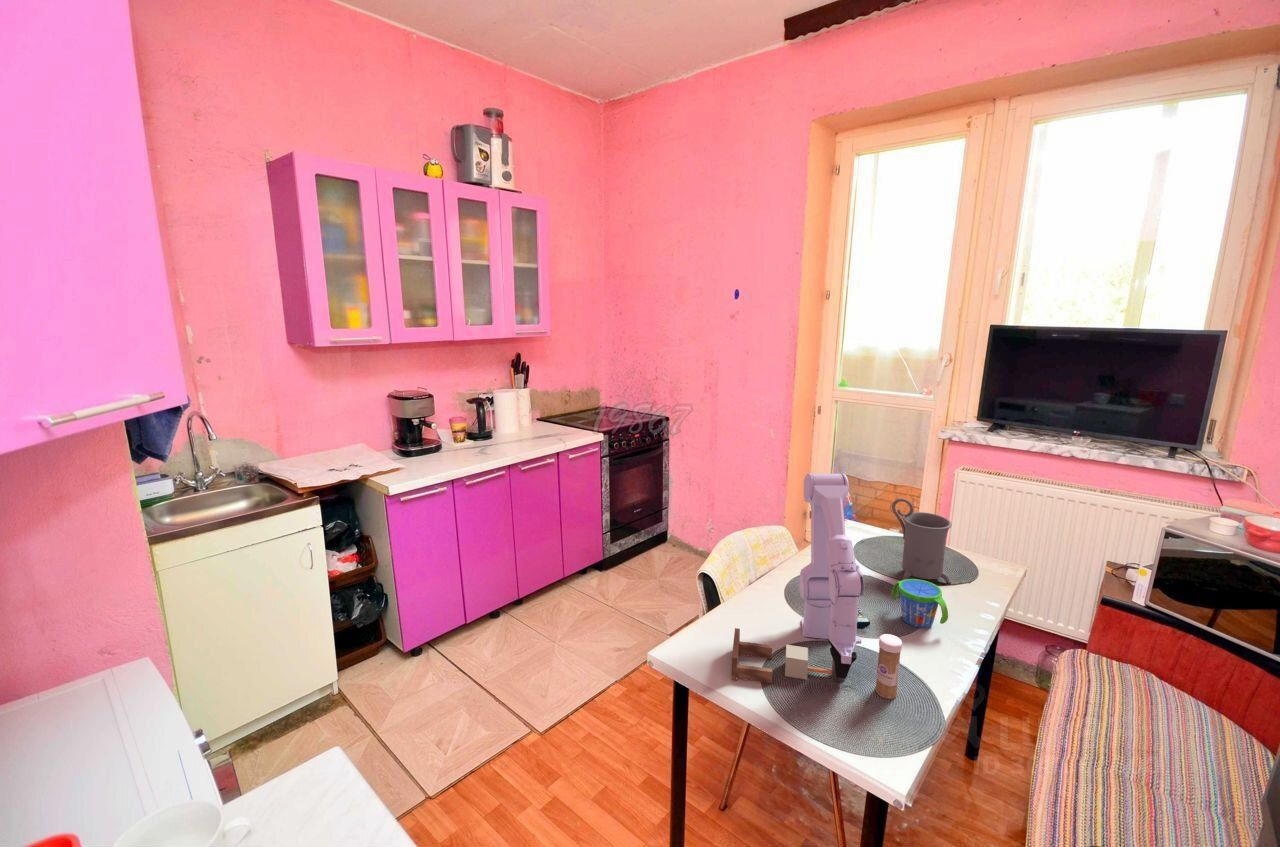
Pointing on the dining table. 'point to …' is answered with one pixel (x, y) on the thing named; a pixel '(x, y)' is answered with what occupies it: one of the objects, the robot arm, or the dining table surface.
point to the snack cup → (920, 602)
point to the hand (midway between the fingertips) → (840, 672)
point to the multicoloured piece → (803, 664)
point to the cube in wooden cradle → (750, 650)
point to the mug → (923, 543)
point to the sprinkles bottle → (888, 666)
